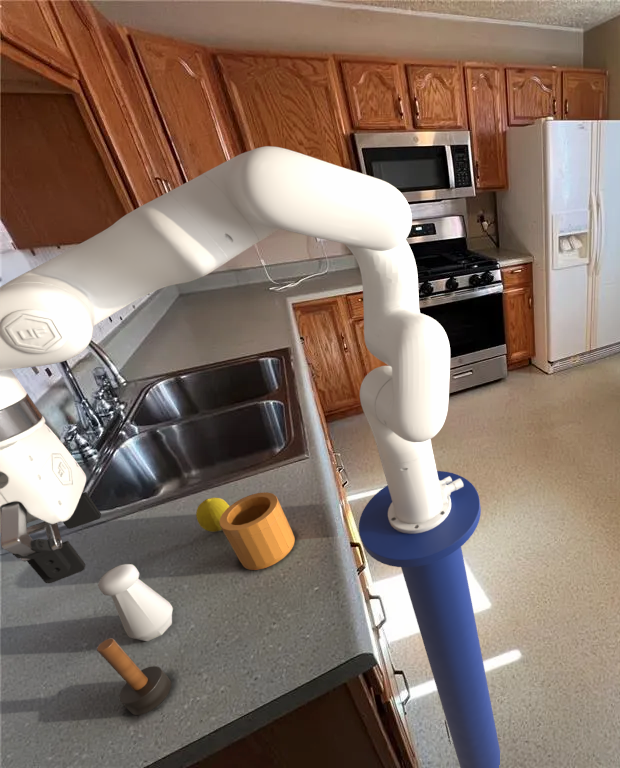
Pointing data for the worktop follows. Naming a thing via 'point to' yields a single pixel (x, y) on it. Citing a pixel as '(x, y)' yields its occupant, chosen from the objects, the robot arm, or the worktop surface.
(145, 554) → the worktop surface
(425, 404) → the robot arm
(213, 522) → the lemon
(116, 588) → the salt shaker
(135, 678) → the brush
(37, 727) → the worktop surface
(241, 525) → the jar
